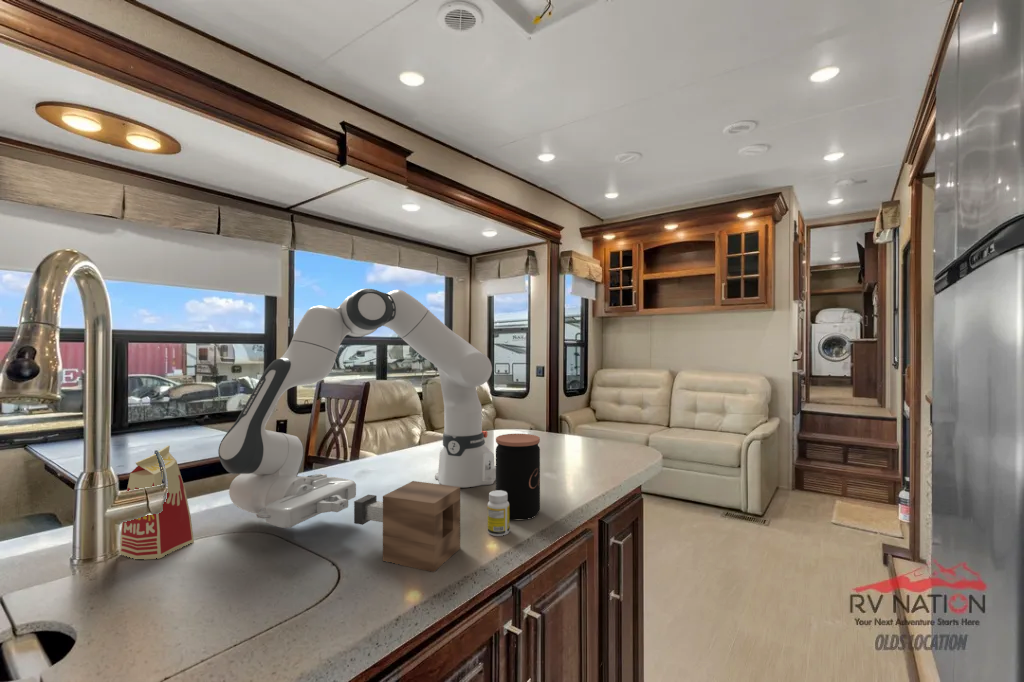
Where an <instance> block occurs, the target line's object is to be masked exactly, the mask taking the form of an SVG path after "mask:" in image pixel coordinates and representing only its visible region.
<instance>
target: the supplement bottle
mask: <svg viewBox="0 0 1024 682" xmlns="http://www.w3.org/2000/svg"><path fill="white" fill-rule="evenodd" d="M488 500H489V501H487V505H486V506H487V533H488V534H489V535H491V536H494V537H504V536H506V535H508V534H509V533H510V527H511V526H510V522H511V521H510V519H509V502H508V501H507V500H508V495H507V492H505V491H501V490H496V489H495V490H492V491H490V492H489V493H488ZM503 535H504V536H503Z"/></svg>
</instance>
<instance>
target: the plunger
mask: <svg viewBox="0 0 1024 682" xmlns="http://www.w3.org/2000/svg"><path fill="white" fill-rule="evenodd" d="M353 505H354V506H353V518H354V519H353V523H354V524H355V525H356V524H357V525H360V526H361V525H362V526H363V525H364V524H366V523H368V522H370V521H374V522H378V523H383V501H378V500H377V495H374V494H367V495H365V496H363V497H360V498H358V499H356V500H354V501H353Z"/></svg>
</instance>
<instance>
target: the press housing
mask: <svg viewBox="0 0 1024 682" xmlns="http://www.w3.org/2000/svg"><path fill="white" fill-rule="evenodd" d="M382 502H383V522H382V562H383V561H387V562H386V563H388V562H392V563H391V564H393V563H395V564H394V565H398V564H400V565H399V566H402V567H403V566H404V567H406V568H407V567H408V568H413V569H418V570H422V571H427V572H433V573H435V572H436V571H437V570H438V569H439V568H440V567H442V565H444V564H445V563H446V562H447V561H448V560H449V559H450V558H451V557H452V556H454V555H455V554H456V553H457V552H458V551H459V550H460V549H461V487H457V486H449V485H442V484H440V483H432V482H426V481H425V482H424V481H423V482H422V481H416V480H412V481H409V482H408V483H406V484H404V485H402V486H400V487H398V488H396V489H394V490H393V491H391V492H388V493H386V494H384V495H382ZM444 562H445V563H444ZM443 563H444V564H443Z"/></svg>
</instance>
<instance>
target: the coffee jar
mask: <svg viewBox="0 0 1024 682" xmlns="http://www.w3.org/2000/svg"><path fill="white" fill-rule="evenodd" d="M540 440H541V438H540V437H539V436H537V435H535V434H531V433H530V434H529V433H506V434H502V435H500V434H499V435H498V436H496V437H495V442H496V444H497V446H496V447H495V466H496V480H495V491H496V490H501V491H505V492H507V495H508V500H507V501H508V502H509V520H510V519H527V520H529V519H528V518H531V519H533V518H534V516H535V517H536V516H537V515H538V514H539V512H540V510H541V449H540V446H539V444H540V442H541V441H540ZM537 513H538V514H537ZM532 517H533V518H532Z"/></svg>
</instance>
